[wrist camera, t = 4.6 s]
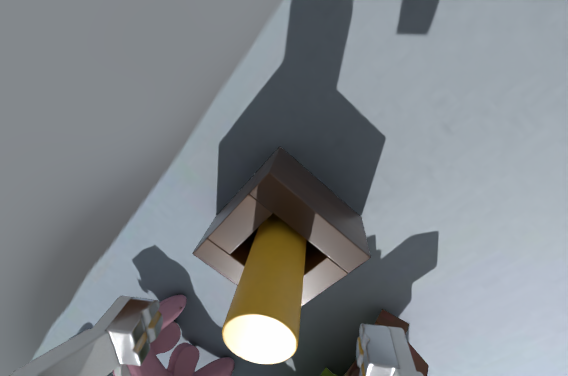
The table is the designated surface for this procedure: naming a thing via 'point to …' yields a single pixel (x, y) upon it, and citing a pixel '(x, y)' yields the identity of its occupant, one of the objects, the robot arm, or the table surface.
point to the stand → (297, 214)
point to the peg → (268, 296)
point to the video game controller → (183, 355)
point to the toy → (419, 363)
